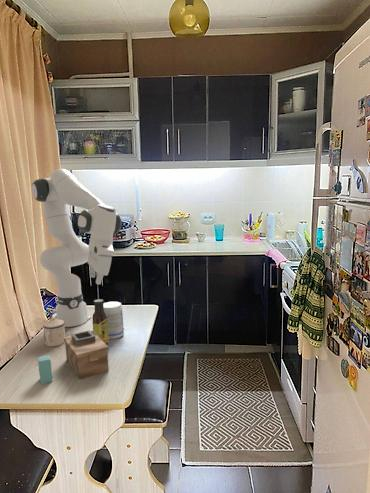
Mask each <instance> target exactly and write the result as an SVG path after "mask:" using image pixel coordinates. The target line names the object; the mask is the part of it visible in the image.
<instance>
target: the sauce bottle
mask: <svg viewBox="0 0 370 493" xmlns="http://www.w3.org/2000/svg"><path fill="white" fill-rule="evenodd" d="M103 303H105V302H104V299H102V298H101V299H99V298H98V299H94V300H93V305H94V312H93V314H92V316H91V319H92V331H93V332H94V333H95V334H96V335H97V336H98V337H99V338H100V339H101V340H102V341H103V342H104V343H105V344H106V345H107V346H108V345H109V339H108V324H107V316H106V314H105V312H104V308H103Z"/></svg>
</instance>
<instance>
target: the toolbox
mask: <svg viewBox="0 0 370 493" xmlns="http://www.w3.org/2000/svg"><path fill="white" fill-rule="evenodd" d="M63 338H64V341H65V343H64V345H65V355H66V361H67V362H68V364H69V365H70V367H71V368H72V370H73V371H74V373H75V374H76V376H77V377H78V378H79V380H80V379H85V378H88V377H92V376H94V375H98V374H101V373H104V372H106V373H107V372H108V371H109V370H110V369H109V368H110V367H109V358H108V356H109V355H108V351H109V349H110V348H109V346H108V345H106V344H105V343H104V342H103V341H102V340H101V339H100V338H99V337H98V336H97V335H96V334H95V333H94V332H93V330H89V329H88V330H84V331H80V332H77V333H76V332H75V333H71V334H70V335H68V336H65V337H63Z"/></svg>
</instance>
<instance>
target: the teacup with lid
mask: <svg viewBox="0 0 370 493" xmlns="http://www.w3.org/2000/svg"><path fill="white" fill-rule="evenodd" d="M42 324H43V325H42V327H43V334H44V344H45V345H46V346H47V347H58V346H61V345H63V344H65V341H64V338H63V337H66V327H64V324H65V322H64V321H63V320H60V319H56V317H52V316H51V317H50V319H49V320H47V321H45V322H43V323H42Z"/></svg>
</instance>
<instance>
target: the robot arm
mask: <svg viewBox="0 0 370 493" xmlns="http://www.w3.org/2000/svg"><path fill="white" fill-rule="evenodd" d="M31 193H32V196H33V198H34V199H35V200H36V201H37V202H41V203H43V211H44V212H43V213H44V217H45V221H46V227H47V231H48V234H49V235H50V237H51V238H53V239H55V240H58V241H59V242H60V244H61V245H58V246H53V247H50V248H48V249H44V250H42V252H41V254H40V258H39V262H40V264H41V266H42V267H43V269H45V270H46V271H48V272H49V273H51V275H52V276H53V277H54V280H55V281H56V287H57V303H56V306H55V308H53V309H52V315H51V317H56V319H60V320H63V321H64V322H65V324H64V327H65V328H71V327H77V326H81V325H83V324H85V323H86V322H88V321H89V320H90V319H92V316H91V315H89V314H88V309H87V308H88V307H87V302H85V301H84V298H83V297H84V295H83V292H82V284H81V282H82V281H81V278H80V277H79V276H78V275H76V274H74V273H71V270H70V268H72V267H77V266H80V265H81V266H82V265H84V264H86V263H87V265H89V266H90V267H89V271H90V274H89V277H90V278H93V279H94V278H96V279H95V284H96V285H101V284H102V280H103V278H104V276H108V275H109V272H110V269H111V265H112V258H113V256H114V255H115V251H114V250H115V249H114V247H113V243H114V237H115V236H116V235H117V234H118V233H119V232H120V231H121V229H122V226H123V221H122V218H121V216H120V214H118V212H117V210H116V209H115V208H114V207H113V206H111V205H109V204H105V203H104V202H103V201H102V200H101V199H100V198H99V197H97V195H96V194H94V193H93V192H91V191H90V190H89V189H88V188H86V187H85V186H84V185H83V184H82V183H81V182H80V181H79V178H77V177H76V176H75V175H73V173H72V172H70V171H69V170H67V169H65V168H58V169H56V170H54V171H53V172H52V173H51V175H50V177H46V178H45V177H44V178H38V179H35V180H34V181H33V183H32V184H31ZM67 205H68V206H73V207H76V208H77V207H78V208H82V209H83V210H82V211H81V212H80V213H79V214H78V216H77V220H76V224H77V227H78V229H79V231H80V232H82V233H84V234H90V238H89V242H88V244H87V243H85V242H84V241H82V240H81V239H80V238H79V237H78V236H77V235H76V232H75V231H74V229H73V225H72V221H71V218H70V214H69V211H68V206H67ZM96 276H97V277H96Z"/></svg>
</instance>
